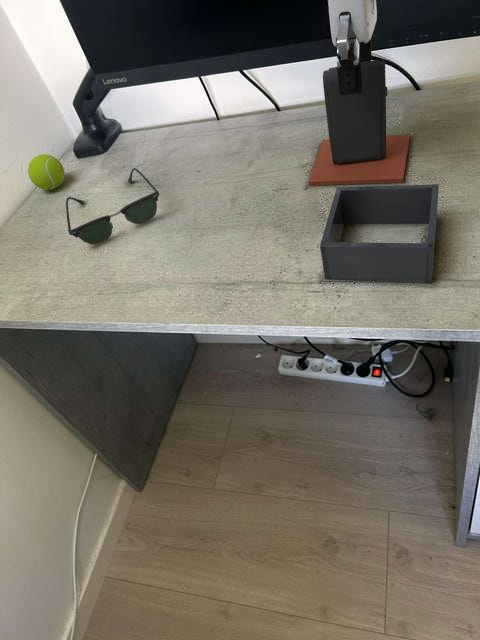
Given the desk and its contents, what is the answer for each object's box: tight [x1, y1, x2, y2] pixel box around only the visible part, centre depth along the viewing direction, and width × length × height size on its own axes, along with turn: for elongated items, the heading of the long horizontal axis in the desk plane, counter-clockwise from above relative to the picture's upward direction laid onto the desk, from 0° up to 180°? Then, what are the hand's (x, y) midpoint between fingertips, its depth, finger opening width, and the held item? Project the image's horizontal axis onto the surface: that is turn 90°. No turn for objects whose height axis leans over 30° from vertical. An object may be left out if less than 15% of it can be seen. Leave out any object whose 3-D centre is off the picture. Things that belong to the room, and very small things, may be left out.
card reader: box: [322, 59, 388, 164], centre depth 77 cm, size 9×4×15 cm, turn 81°
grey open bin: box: [319, 183, 440, 284], centre depth 66 cm, size 14×13×6 cm
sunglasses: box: [65, 167, 160, 246], centre depth 89 cm, size 16×17×5 cm
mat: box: [308, 133, 411, 186], centre depth 83 cm, size 15×13×1 cm
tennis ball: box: [27, 153, 66, 191], centre depth 101 cm, size 7×7×7 cm
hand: (356, 77), depth 72 cm, fingers open, 9 cm apart
